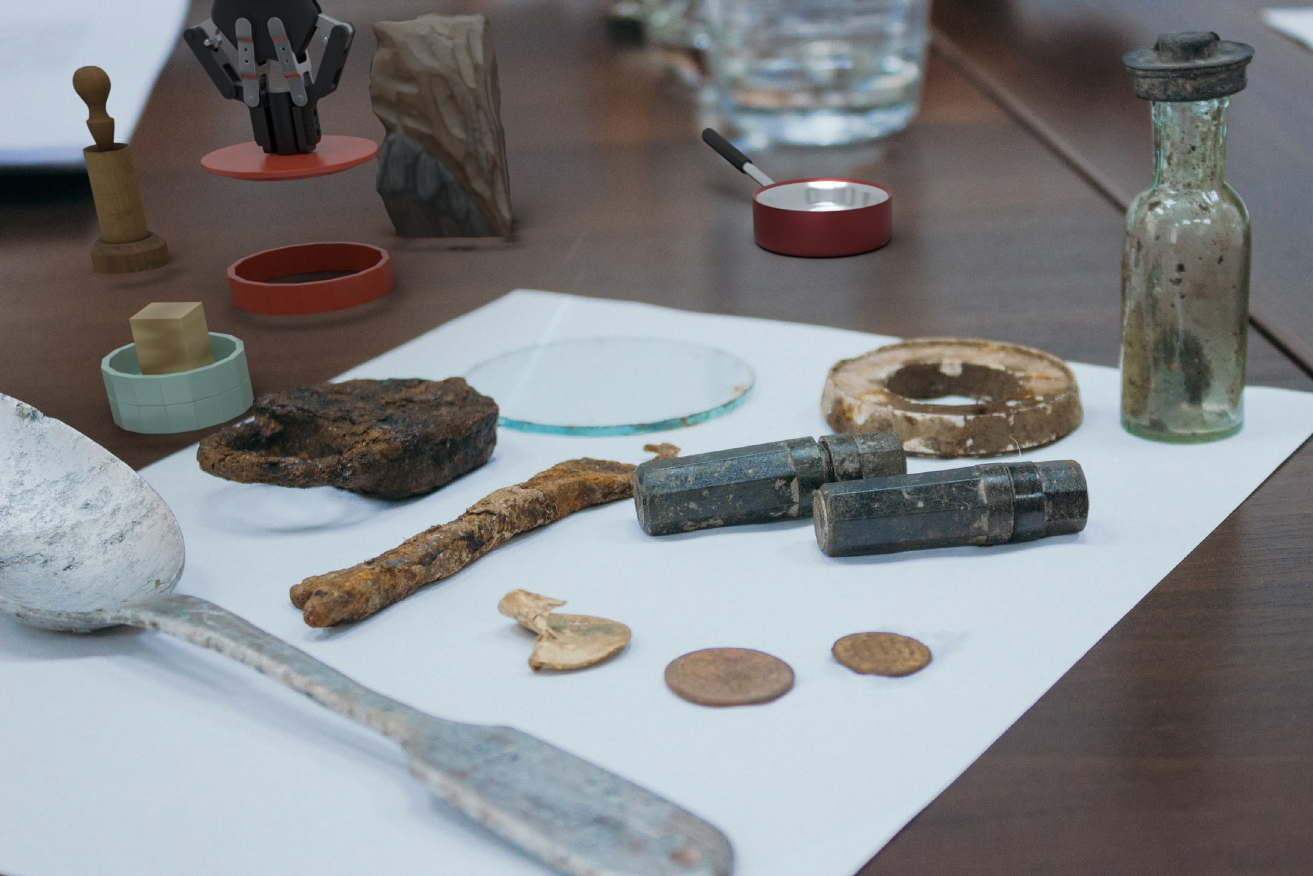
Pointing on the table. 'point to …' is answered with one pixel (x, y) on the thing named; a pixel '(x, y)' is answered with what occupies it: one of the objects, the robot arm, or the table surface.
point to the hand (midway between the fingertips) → (290, 150)
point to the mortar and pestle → (115, 188)
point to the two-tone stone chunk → (440, 127)
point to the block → (171, 338)
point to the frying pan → (813, 210)
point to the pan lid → (288, 150)
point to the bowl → (178, 390)
